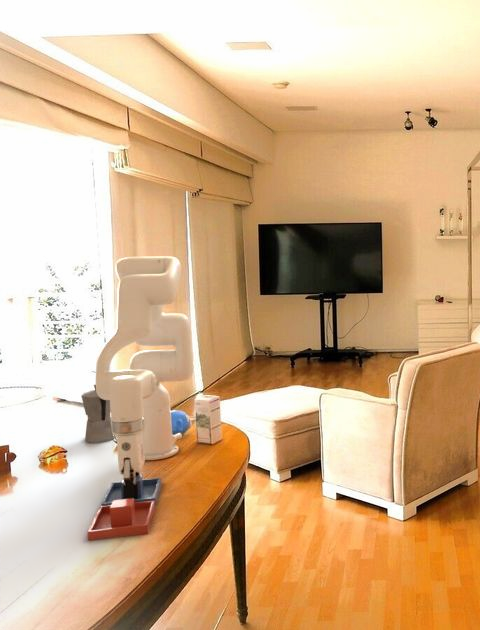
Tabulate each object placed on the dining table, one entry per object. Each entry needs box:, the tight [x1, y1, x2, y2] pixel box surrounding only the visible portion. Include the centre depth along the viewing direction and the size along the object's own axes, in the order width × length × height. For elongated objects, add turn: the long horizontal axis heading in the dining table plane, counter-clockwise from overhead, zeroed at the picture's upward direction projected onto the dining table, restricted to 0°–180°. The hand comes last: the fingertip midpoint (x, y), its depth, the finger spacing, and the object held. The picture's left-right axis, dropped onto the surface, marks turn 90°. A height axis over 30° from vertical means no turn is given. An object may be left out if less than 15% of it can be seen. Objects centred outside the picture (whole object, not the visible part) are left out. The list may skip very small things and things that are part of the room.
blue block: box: [120, 474, 144, 499], centre depth 170 cm, size 4×4×4 cm
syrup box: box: [194, 394, 223, 445], centre depth 214 cm, size 6×6×14 cm
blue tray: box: [100, 477, 163, 507], centre depth 171 cm, size 14×12×2 cm
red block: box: [110, 498, 135, 527], centre depth 156 cm, size 4×4×4 cm
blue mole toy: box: [171, 409, 196, 436], centre depth 222 cm, size 12×12×8 cm
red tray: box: [87, 500, 156, 541], centre depth 156 cm, size 14×12×2 cm
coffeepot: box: [80, 384, 116, 444], centre depth 217 cm, size 15×9×18 cm, turn 37°
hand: (132, 494), depth 171 cm, fingers closed on blue block, 4 cm apart
